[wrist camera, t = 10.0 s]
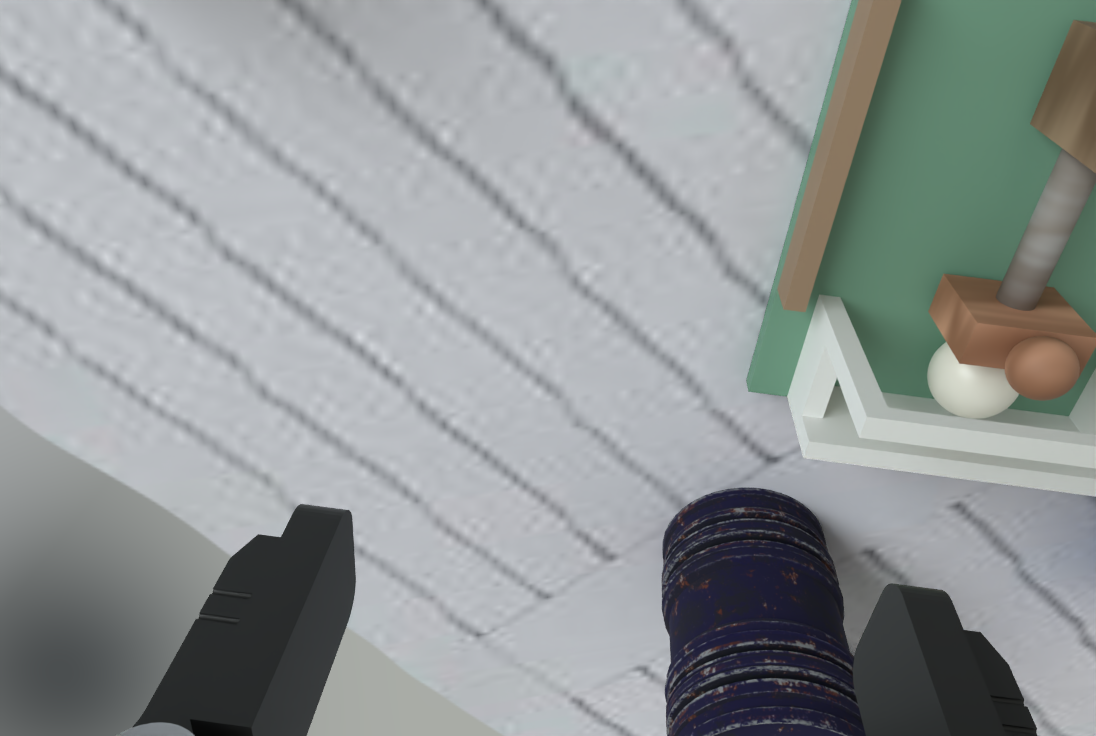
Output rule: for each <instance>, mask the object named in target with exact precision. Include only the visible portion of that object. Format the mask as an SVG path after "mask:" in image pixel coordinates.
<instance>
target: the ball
mask: <svg viewBox="0 0 1096 736" xmlns="http://www.w3.org/2000/svg"><path fill="white" fill-rule="evenodd" d="M927 380H928V386H929V389H930V392H931V393H932V395H933V397H934V398H935V400H936V401H937V402H938V403H939V404H940V405H941V406H942V407H943V408H944V409H946V410H947V411H949V412H950V413H952V414H955V415H957V416H960V417H964V418H970V419H981V418H987V417H991V416H994V415H997V414H999V413H1001V412H1002V411H1004V410H1005V409H1007V408H1008V407H1009V406H1010V405H1011V404H1012V403H1013V402H1014V401H1015V400H1016V398H1017V397H1018V395H1019V393H1017V392H1016V391H1015V390H1014V389H1013V388H1012V387H1011V386H1010V384H1009V383H1008V381H1007V379H1006V375H1005V369H998V368H990V367H983V366H975V365H967V364H959V362H958V360H957V359H956V357H955V355H954V354H953V352H952V350H951V349H950V347H949V345H948V344H947V342H945V343H944V344H943V345H942V346H941V347H939V348H938V349H937V351H936V352H935V353H934V355H933V356H932V358H931V360H930V363H929V366H928V372H927Z"/></svg>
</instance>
